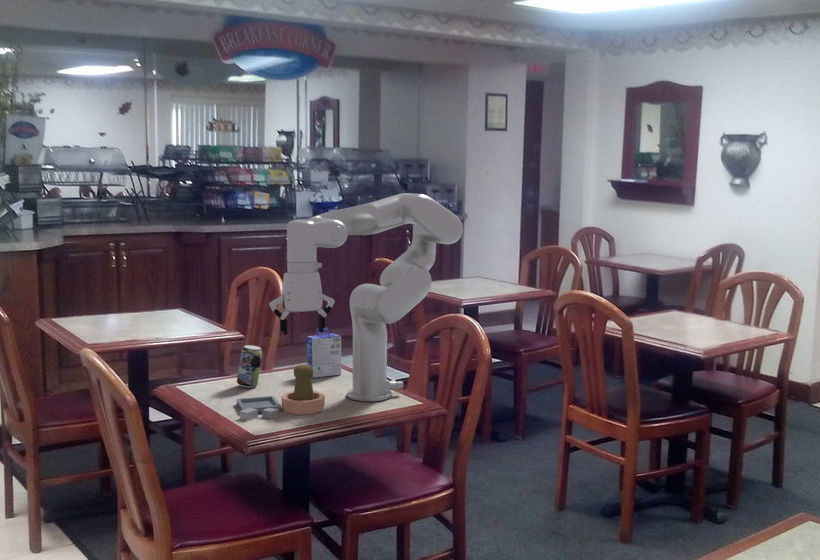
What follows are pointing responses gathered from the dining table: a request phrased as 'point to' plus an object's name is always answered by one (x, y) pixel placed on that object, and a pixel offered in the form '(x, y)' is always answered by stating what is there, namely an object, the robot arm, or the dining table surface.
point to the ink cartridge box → (324, 353)
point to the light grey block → (248, 413)
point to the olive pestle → (303, 383)
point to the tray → (258, 403)
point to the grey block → (270, 413)
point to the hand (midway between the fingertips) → (302, 332)
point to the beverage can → (249, 366)
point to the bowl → (303, 404)
